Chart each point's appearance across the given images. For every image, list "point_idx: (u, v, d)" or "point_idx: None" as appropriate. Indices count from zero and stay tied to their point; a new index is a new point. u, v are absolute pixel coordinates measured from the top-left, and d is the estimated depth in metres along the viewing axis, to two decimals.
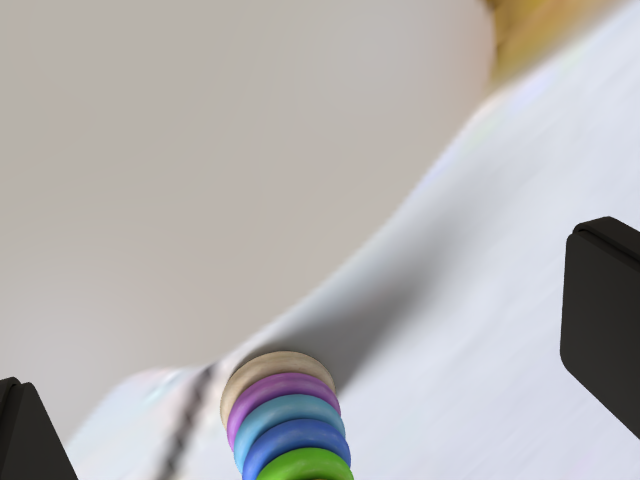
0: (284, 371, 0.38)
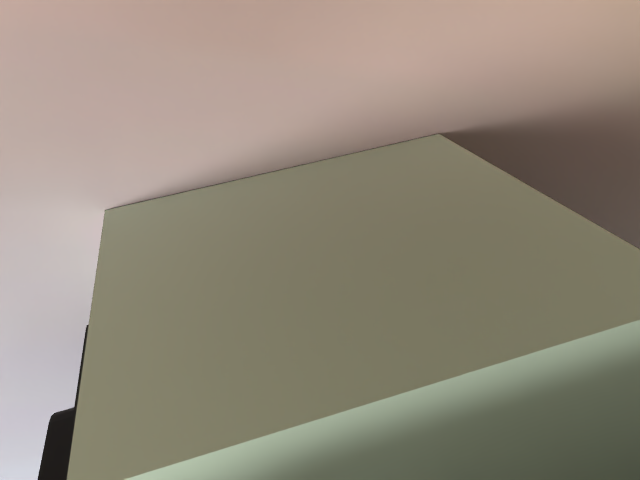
0: None
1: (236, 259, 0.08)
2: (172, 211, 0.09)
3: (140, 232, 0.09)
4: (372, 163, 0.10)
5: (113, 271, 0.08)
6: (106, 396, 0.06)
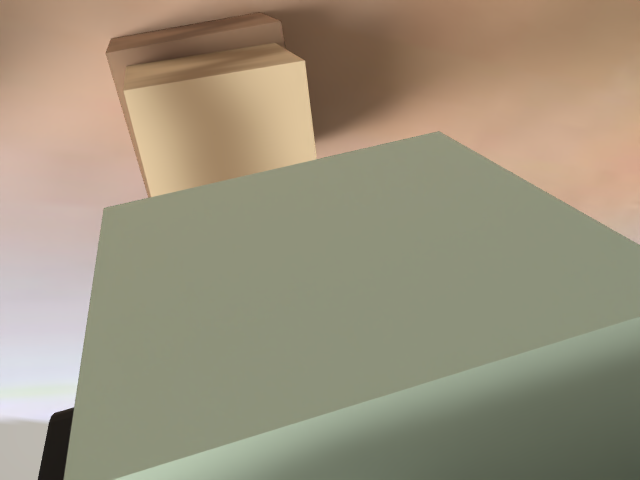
0: None
1: (235, 255, 0.08)
2: (171, 209, 0.09)
3: (139, 230, 0.09)
4: (372, 161, 0.10)
5: (112, 269, 0.08)
6: (104, 393, 0.05)
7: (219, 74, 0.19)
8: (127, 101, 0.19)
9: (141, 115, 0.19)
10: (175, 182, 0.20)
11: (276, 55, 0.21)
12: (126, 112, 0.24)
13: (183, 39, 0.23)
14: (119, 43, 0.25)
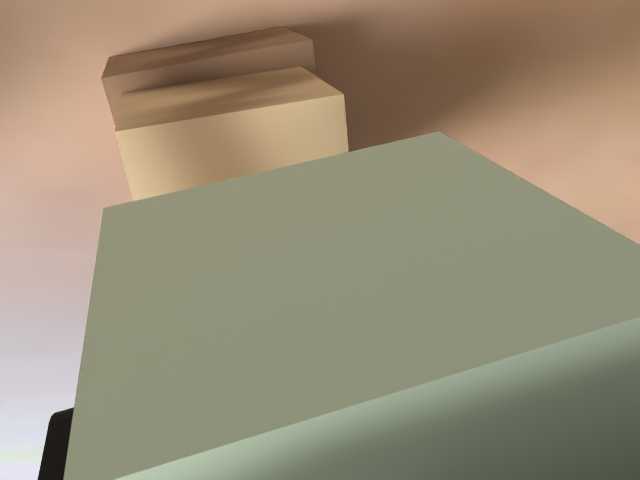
0: None
1: (235, 256, 0.08)
2: (171, 209, 0.09)
3: (139, 230, 0.09)
4: (372, 160, 0.10)
5: (111, 269, 0.08)
6: (104, 394, 0.05)
7: (236, 111, 0.15)
8: (119, 144, 0.15)
9: (137, 161, 0.15)
10: None
11: (305, 85, 0.17)
12: None
13: (195, 61, 0.19)
14: (118, 64, 0.21)
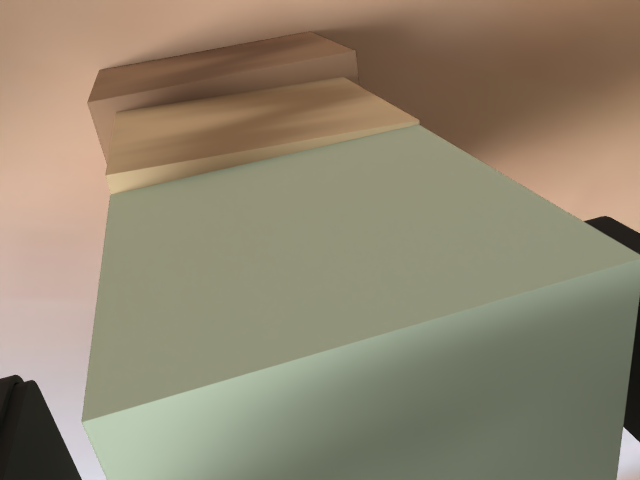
0: None
1: (229, 234, 0.08)
2: (172, 195, 0.10)
3: (142, 214, 0.10)
4: (355, 151, 0.11)
5: (119, 246, 0.09)
6: (115, 346, 0.06)
7: (274, 144, 0.11)
8: (112, 193, 0.11)
9: None
10: None
11: (359, 104, 0.13)
12: None
13: (208, 79, 0.15)
14: (110, 81, 0.17)
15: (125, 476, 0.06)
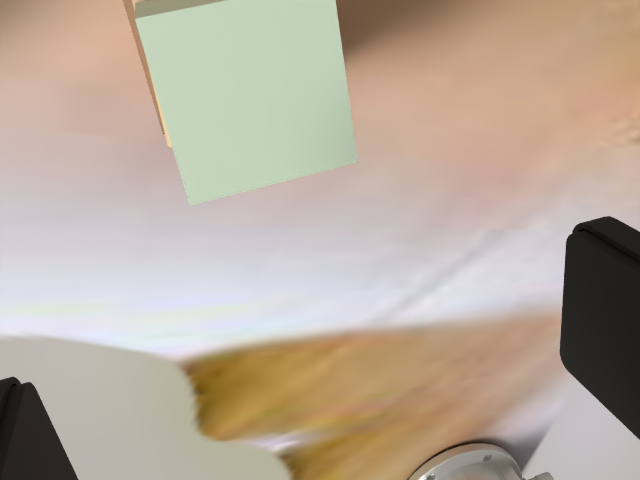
0: None
1: None
2: None
3: (151, 2, 0.21)
4: None
5: (141, 7, 0.20)
6: (143, 13, 0.18)
7: None
8: (133, 4, 0.22)
9: None
10: None
11: None
12: (137, 38, 0.27)
13: None
14: None
15: (148, 45, 0.17)
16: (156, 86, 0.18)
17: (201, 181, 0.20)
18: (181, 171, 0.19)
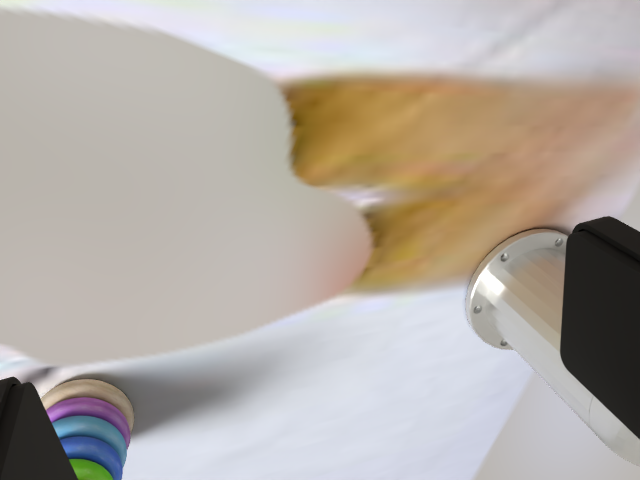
0: (105, 400, 0.47)
1: None
2: None
3: None
4: None
5: None
6: None
7: None
8: None
9: None
10: None
11: None
12: None
13: None
14: None
15: None
16: None
17: None
18: None
